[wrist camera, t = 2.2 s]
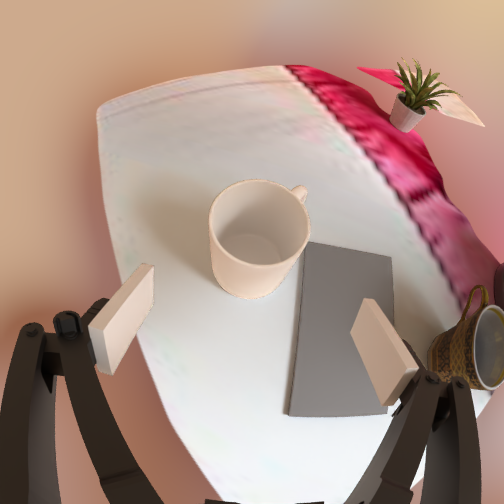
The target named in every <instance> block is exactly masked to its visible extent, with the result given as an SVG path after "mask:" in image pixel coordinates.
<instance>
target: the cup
mask: <svg viewBox="0 0 504 504" xmlns="http://www.w3.org/2000/svg"><path fill="white" fill-rule="evenodd" d="M306 197H307V189H306V187H304V186H301V185H300V186H297V187H295V188H293V189H292V190H291V191H290V190H289V189H288V188H286V187H284V186H282V185H280V184H278V183H275V182H272V181H268V180H261V179H250V180H244V181H240V182H237V183H235V184H232V185H230V186H229V187H227V188H226V189H224V190H223V191H222V192H221V193H220V194H219V195H218V196H217V197H216V199H215V200H214V202H213V203H212V206H211V208H210V211H209V217H208V226H209V239H210V251H211V263H212V269H213V273H214V276H215V278H216V280H217V281H218V283H219V284H220V285H221V287H222V288H223V289H224V290H226V291H227V292H228V293H230V294H232V295H234V296H236V297H239V298H243V299H257V298H261V297H264V296H266V295H268V294H270V293H272V292H273V291H274V290H275V289H276V288H277V287H278V286H279V285H280V284H281V283H282V281H283V280H284V278H285V277H286V275H287V274H288V272H289V271H290V269H291V268H292V266H293V265H294V263H295V262H296V260H297V259H298V257H299V256H300V254H301V253H302V251H303V250H304V248H305V246H306V244H307V242H308V240H309V236H310V219H309V215H308V212H307V210H306V208H305V206H304V202H305V200H306Z"/></svg>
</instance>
